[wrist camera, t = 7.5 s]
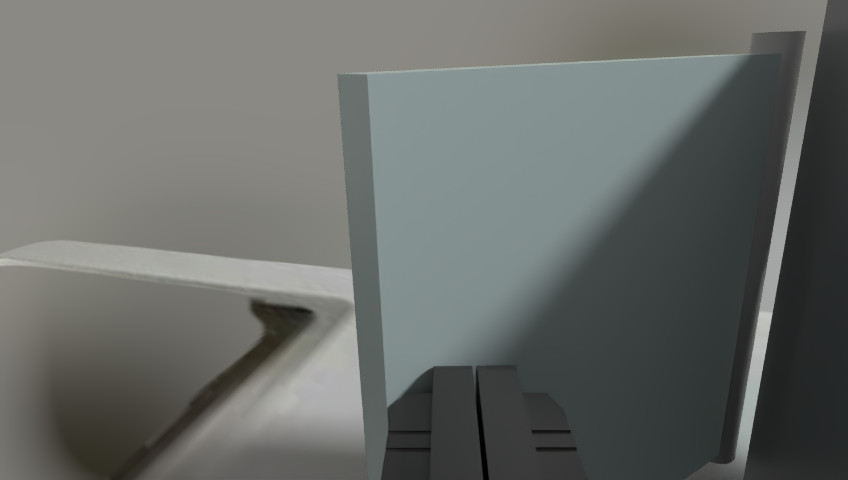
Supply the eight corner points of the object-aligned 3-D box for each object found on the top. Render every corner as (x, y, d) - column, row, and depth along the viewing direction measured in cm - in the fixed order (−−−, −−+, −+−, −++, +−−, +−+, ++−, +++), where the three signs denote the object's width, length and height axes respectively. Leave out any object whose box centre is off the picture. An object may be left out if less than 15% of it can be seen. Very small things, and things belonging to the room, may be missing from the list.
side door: (742, 454, 19) (815, 31, 15) (406, 693, 12) (368, 37, 8) (695, 428, 20) (750, 34, 16) (369, 631, 13) (320, 41, 9)
